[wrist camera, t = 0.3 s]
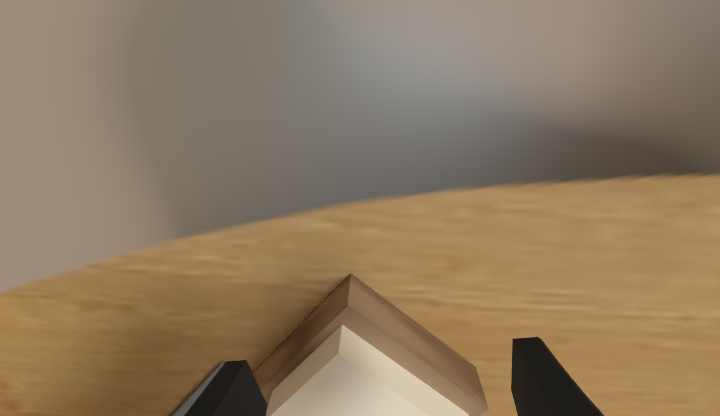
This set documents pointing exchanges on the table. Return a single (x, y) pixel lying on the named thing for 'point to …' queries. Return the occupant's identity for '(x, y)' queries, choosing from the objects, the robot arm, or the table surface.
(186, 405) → the mat
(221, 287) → the table surface
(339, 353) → the cream rectangular block
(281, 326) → the table surface
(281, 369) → the riser
